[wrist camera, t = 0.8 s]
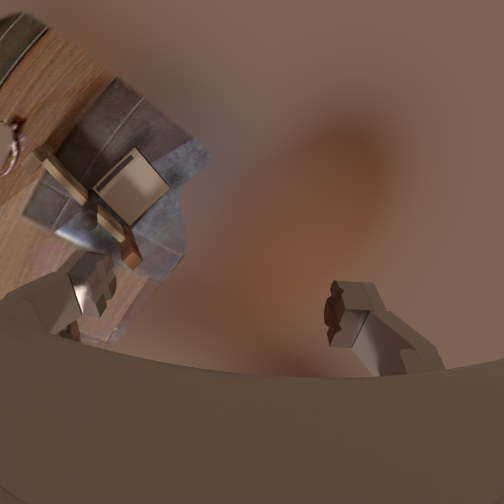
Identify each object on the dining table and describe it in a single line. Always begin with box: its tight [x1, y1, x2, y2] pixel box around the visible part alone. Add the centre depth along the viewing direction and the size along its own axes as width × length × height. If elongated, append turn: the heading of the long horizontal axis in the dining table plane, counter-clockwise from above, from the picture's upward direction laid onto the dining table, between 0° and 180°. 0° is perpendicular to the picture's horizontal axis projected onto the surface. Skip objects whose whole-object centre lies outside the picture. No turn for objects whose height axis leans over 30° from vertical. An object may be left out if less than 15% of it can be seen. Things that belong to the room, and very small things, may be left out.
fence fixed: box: [21, 142, 98, 231], centre depth 36 cm, size 15×3×13 cm, turn 30°
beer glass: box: [55, 320, 81, 343], centre depth 45 cm, size 7×7×15 cm
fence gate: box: [97, 202, 143, 270], centre depth 44 cm, size 9×2×12 cm, turn 30°
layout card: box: [92, 148, 169, 226], centre depth 49 cm, size 11×11×1 cm
